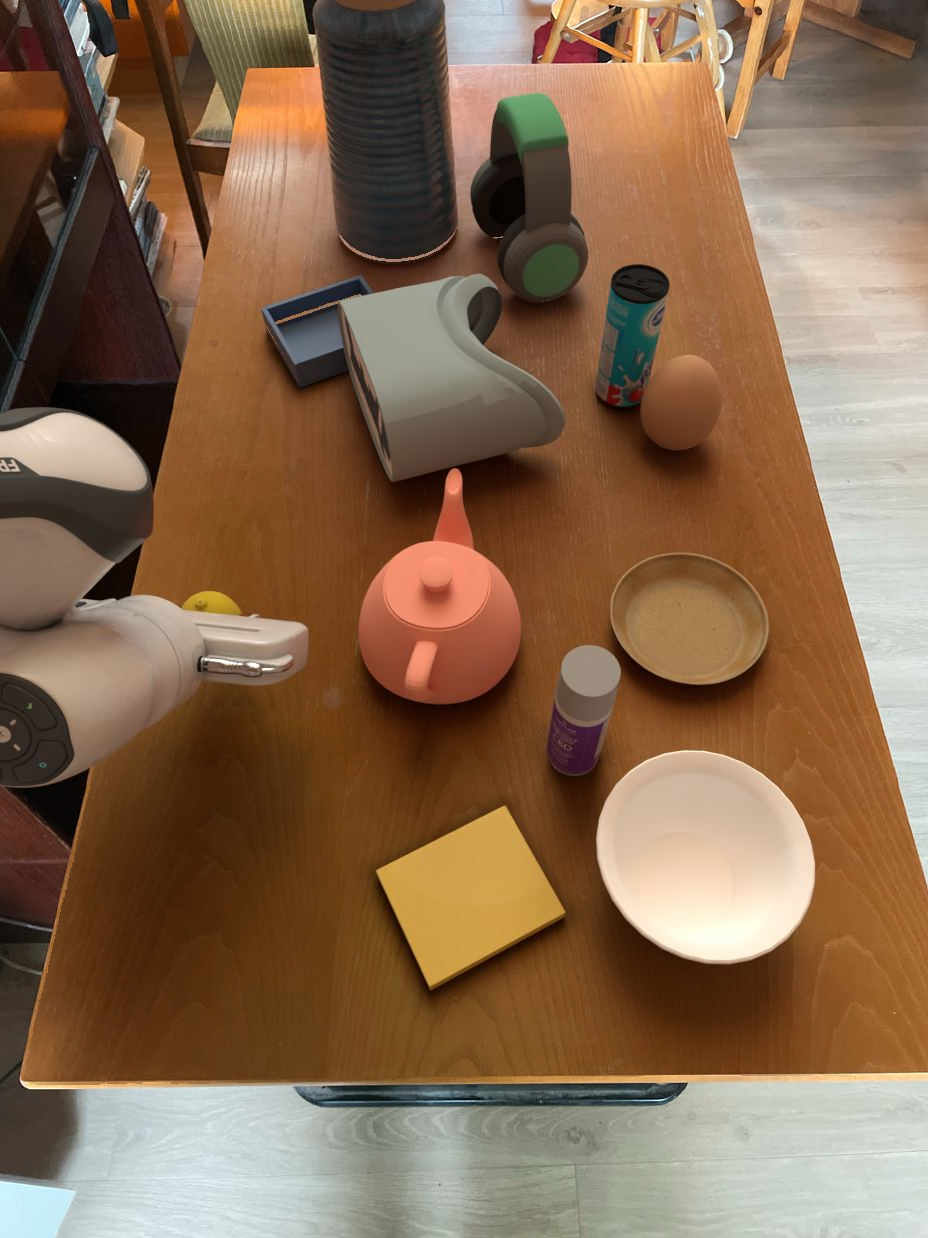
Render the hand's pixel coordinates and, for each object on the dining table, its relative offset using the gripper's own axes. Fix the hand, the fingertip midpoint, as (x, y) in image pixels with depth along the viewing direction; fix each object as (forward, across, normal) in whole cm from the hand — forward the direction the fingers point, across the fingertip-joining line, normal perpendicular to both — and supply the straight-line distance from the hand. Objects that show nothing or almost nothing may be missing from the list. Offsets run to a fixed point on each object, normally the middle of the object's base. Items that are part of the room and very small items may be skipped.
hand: (213, 618), depth 76 cm
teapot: (+10, -19, +2) cm, 22 cm away
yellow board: (-7, -25, +19) cm, 32 cm away
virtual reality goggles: (+31, -16, -19) cm, 39 cm away
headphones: (+51, -21, -39) cm, 67 cm away
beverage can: (+35, -34, -23) cm, 54 cm away
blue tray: (+38, 0, -27) cm, 46 cm away
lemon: (+3, 0, +4) cm, 5 cm away
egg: (+30, -40, -18) cm, 54 cm away
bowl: (-4, -42, +17) cm, 45 cm away
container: (+3, -32, +10) cm, 34 cm away
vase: (+54, -4, -43) cm, 69 cm away
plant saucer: (+13, -42, 0) cm, 44 cm away
